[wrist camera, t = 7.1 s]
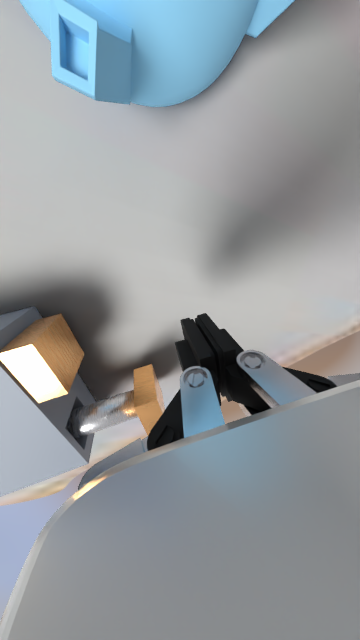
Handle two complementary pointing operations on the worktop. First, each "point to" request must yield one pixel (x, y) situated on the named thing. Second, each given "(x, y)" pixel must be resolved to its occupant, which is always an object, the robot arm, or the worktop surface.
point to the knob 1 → (44, 358)
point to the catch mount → (36, 422)
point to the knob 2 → (121, 407)
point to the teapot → (147, 44)
